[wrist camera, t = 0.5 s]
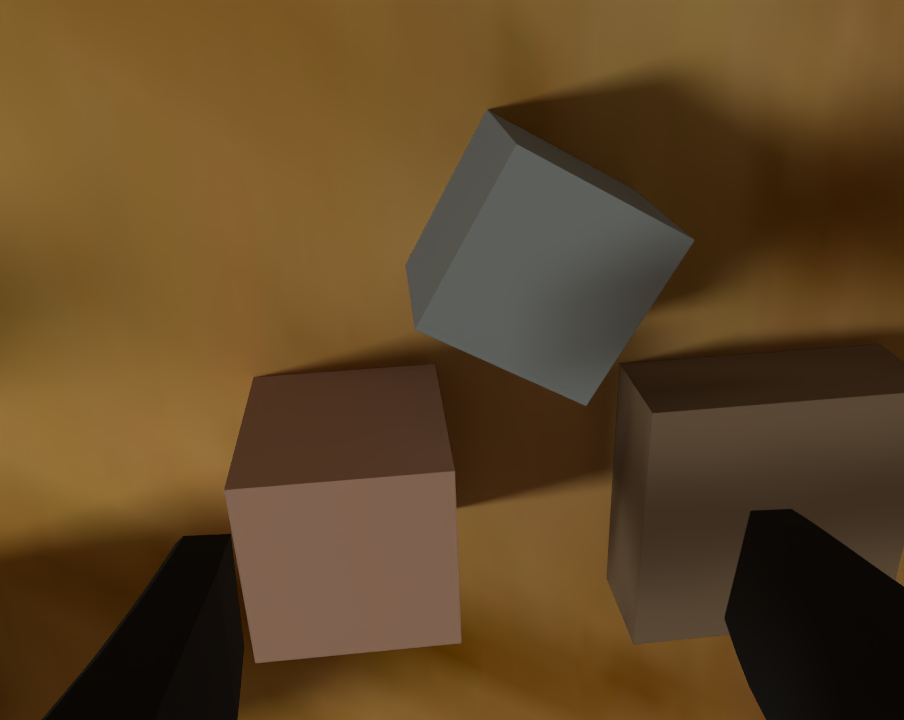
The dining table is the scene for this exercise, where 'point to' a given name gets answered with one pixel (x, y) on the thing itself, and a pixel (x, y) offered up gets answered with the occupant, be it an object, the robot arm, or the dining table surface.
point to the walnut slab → (747, 472)
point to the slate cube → (539, 261)
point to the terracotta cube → (345, 514)
